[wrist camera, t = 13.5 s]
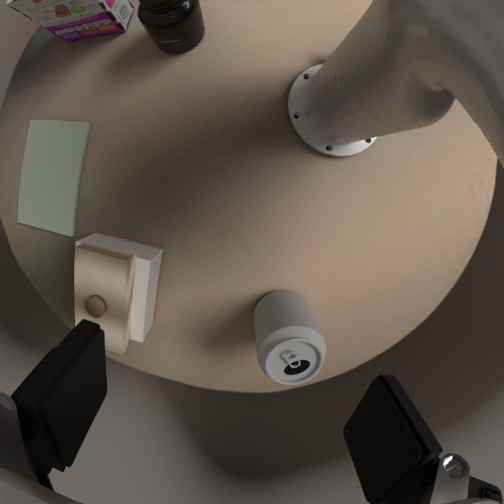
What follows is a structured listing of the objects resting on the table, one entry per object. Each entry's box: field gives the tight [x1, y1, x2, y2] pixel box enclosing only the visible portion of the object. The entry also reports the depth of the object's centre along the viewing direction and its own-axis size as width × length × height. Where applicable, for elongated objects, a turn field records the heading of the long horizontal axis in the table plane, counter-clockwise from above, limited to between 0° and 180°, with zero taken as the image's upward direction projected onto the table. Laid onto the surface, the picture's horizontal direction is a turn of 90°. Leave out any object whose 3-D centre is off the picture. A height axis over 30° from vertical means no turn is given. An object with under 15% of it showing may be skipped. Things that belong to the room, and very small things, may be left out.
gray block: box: [76, 232, 164, 343], centre depth 34 cm, size 11×10×6 cm
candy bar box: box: [6, 0, 134, 42], centre depth 19 cm, size 11×5×16 cm, turn 82°
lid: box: [74, 241, 137, 355], centre depth 29 cm, size 12×6×4 cm, turn 166°
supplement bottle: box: [138, 0, 205, 54], centre depth 23 cm, size 7×7×12 cm
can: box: [254, 290, 326, 385], centre depth 33 cm, size 8×8×12 cm
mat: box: [17, 120, 92, 237], centre depth 32 cm, size 16×12×1 cm
